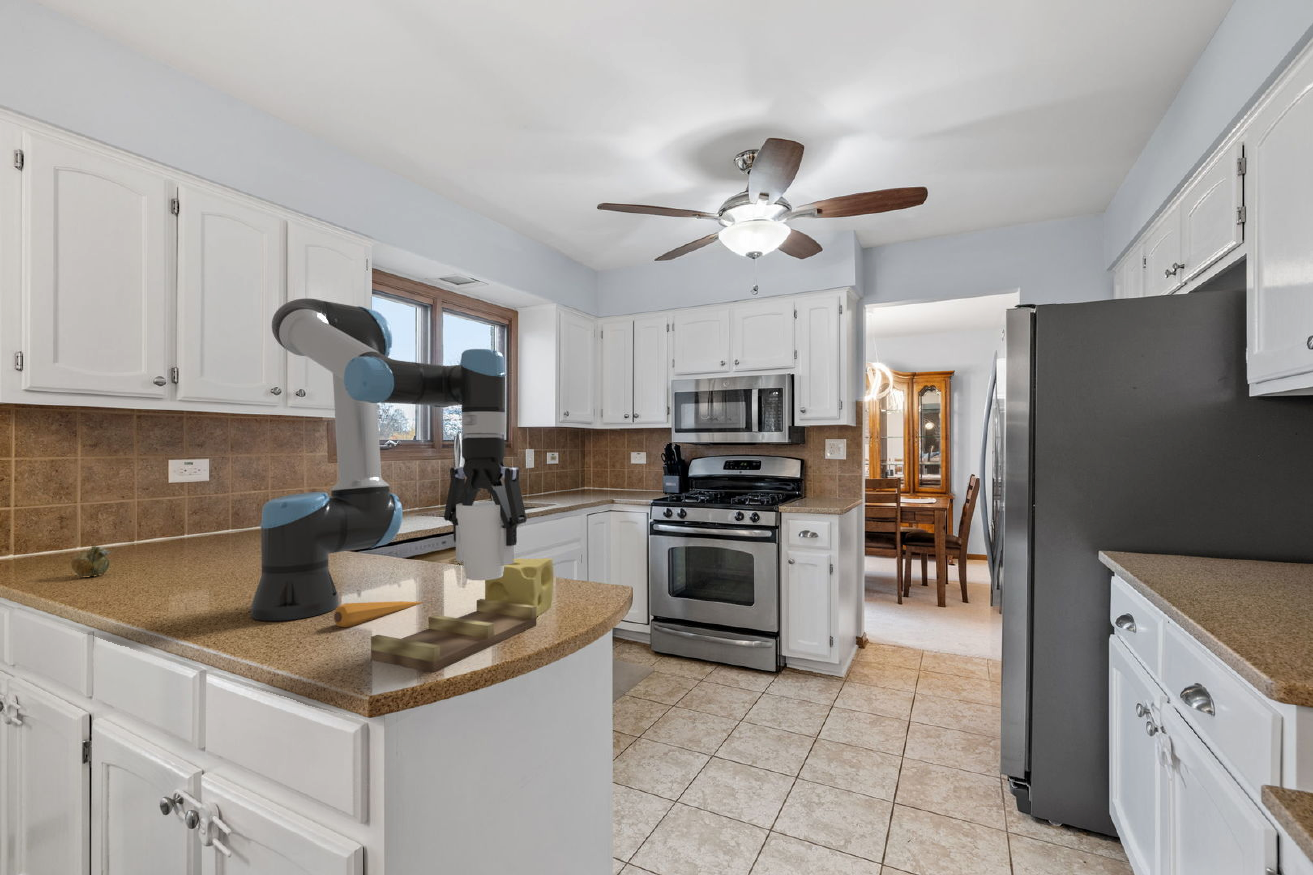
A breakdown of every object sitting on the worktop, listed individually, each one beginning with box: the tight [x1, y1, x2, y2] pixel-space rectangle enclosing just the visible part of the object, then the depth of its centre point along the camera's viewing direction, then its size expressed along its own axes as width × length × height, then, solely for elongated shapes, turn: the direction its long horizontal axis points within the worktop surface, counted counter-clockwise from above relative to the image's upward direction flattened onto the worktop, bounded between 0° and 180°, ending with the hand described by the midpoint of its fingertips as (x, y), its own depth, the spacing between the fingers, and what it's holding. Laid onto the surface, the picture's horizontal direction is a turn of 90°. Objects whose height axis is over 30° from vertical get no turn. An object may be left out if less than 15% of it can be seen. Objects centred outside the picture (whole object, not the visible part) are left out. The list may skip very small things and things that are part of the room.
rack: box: [370, 598, 537, 673], centre depth 103 cm, size 13×25×4 cm, turn 155°
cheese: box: [484, 557, 555, 619], centre depth 121 cm, size 10×11×10 cm
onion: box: [71, 545, 111, 577], centre depth 156 cm, size 8×8×8 cm
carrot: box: [333, 601, 423, 628], centre depth 119 cm, size 20×4×4 cm, turn 154°
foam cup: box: [456, 500, 504, 581], centre depth 108 cm, size 10×9×13 cm
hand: (484, 562), depth 108 cm, fingers closed on foam cup, 9 cm apart
